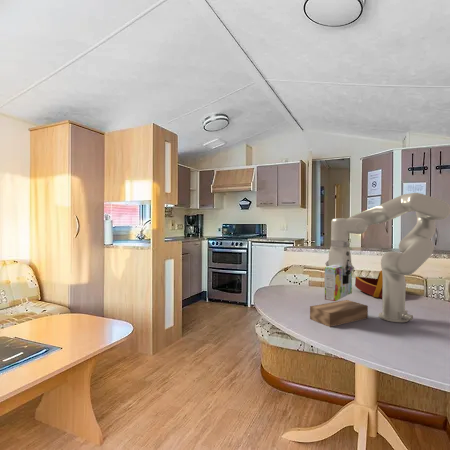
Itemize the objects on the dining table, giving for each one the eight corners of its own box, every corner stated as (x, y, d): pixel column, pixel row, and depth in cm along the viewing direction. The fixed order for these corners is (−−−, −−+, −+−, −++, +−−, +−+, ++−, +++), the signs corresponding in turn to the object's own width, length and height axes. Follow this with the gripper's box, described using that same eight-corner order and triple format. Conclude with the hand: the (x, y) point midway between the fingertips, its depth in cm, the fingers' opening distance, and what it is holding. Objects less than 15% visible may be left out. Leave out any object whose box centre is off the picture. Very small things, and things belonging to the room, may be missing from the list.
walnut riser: (367, 318, 147) (367, 305, 147) (329, 326, 135) (329, 313, 135) (346, 311, 157) (347, 299, 157) (310, 319, 146) (310, 306, 145)
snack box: (340, 291, 156) (341, 261, 156) (352, 293, 152) (353, 263, 152) (323, 299, 140) (324, 266, 139) (335, 301, 136) (336, 267, 136)
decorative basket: (403, 306, 176) (408, 280, 175) (349, 292, 191) (353, 268, 189) (404, 295, 205) (408, 272, 204) (357, 283, 220) (361, 263, 218)
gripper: (360, 245, 140) (360, 284, 140) (330, 242, 155) (330, 278, 155) (349, 246, 136) (348, 286, 136) (319, 243, 151) (319, 279, 152)
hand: (338, 281), depth 146 cm, fingers closed on snack box, 7 cm apart
